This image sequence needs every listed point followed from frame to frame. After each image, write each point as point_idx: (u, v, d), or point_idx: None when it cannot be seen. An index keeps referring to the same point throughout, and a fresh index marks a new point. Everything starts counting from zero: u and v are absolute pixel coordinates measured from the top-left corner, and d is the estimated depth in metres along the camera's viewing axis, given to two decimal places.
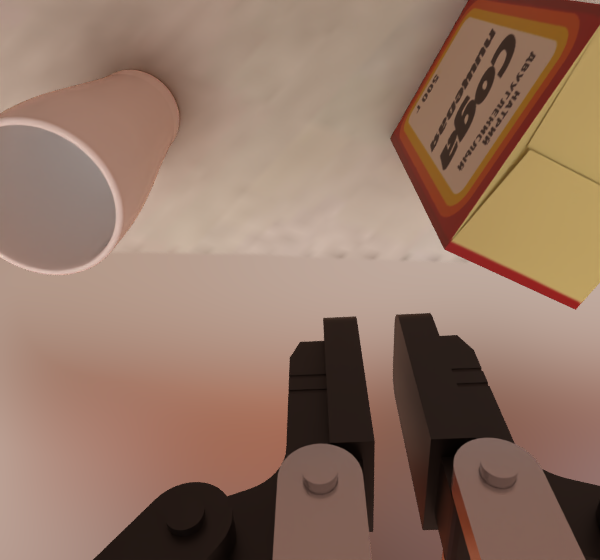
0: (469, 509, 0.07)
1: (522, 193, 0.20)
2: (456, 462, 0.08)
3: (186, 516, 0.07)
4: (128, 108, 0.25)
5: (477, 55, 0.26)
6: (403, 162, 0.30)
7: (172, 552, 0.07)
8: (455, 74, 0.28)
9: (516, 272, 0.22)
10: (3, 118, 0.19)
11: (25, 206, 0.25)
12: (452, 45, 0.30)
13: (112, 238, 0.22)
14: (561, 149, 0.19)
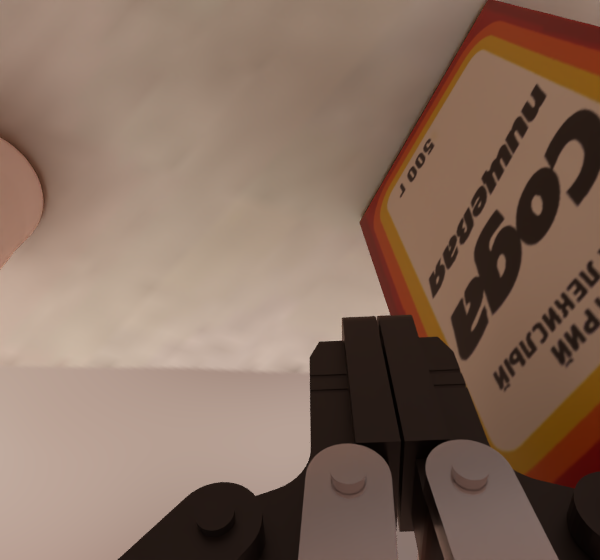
0: (438, 511, 0.07)
1: None
2: (428, 464, 0.08)
3: (216, 517, 0.07)
4: None
5: (509, 130, 0.15)
6: (382, 284, 0.19)
7: (203, 553, 0.07)
8: (466, 151, 0.16)
9: None
10: None
11: None
12: (454, 94, 0.19)
13: None
14: None
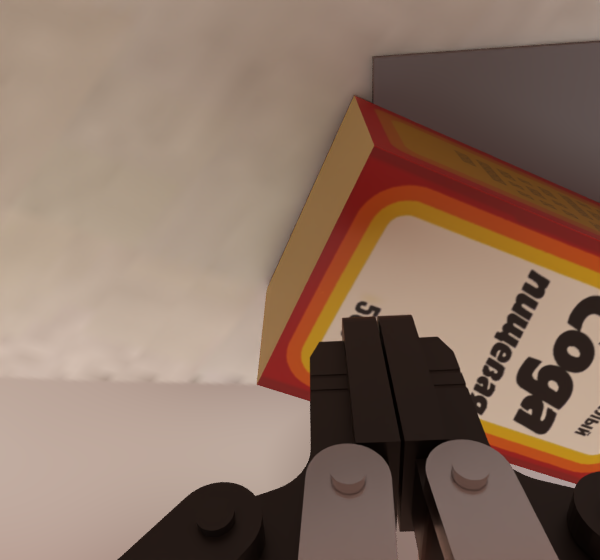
0: (438, 511, 0.07)
1: None
2: (428, 464, 0.08)
3: (215, 517, 0.07)
4: None
5: (513, 302, 0.18)
6: None
7: (203, 553, 0.07)
8: (452, 316, 0.18)
9: None
10: None
11: None
12: (383, 258, 0.17)
13: None
14: None
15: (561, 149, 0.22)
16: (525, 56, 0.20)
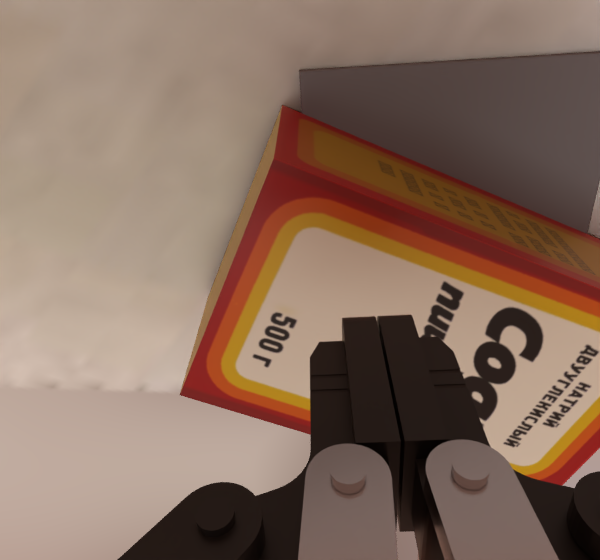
0: (438, 511, 0.07)
1: None
2: (428, 464, 0.08)
3: (216, 517, 0.07)
4: None
5: (429, 314, 0.17)
6: None
7: (203, 553, 0.07)
8: None
9: None
10: None
11: None
12: (293, 270, 0.17)
13: None
14: None
15: (492, 163, 0.22)
16: (450, 70, 0.20)
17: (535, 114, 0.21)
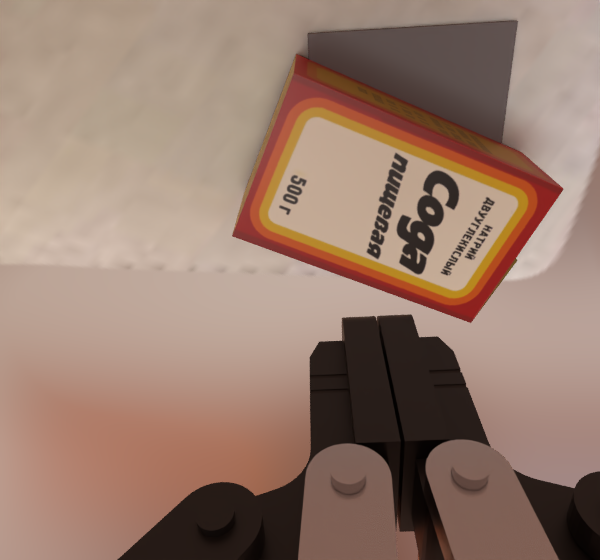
0: (438, 511, 0.07)
1: None
2: (428, 464, 0.08)
3: (215, 517, 0.07)
4: None
5: (387, 175, 0.29)
6: (315, 264, 0.31)
7: (203, 553, 0.07)
8: (351, 185, 0.29)
9: None
10: None
11: None
12: (305, 145, 0.28)
13: None
14: None
15: (434, 96, 0.33)
16: (404, 33, 0.31)
17: (460, 62, 0.32)
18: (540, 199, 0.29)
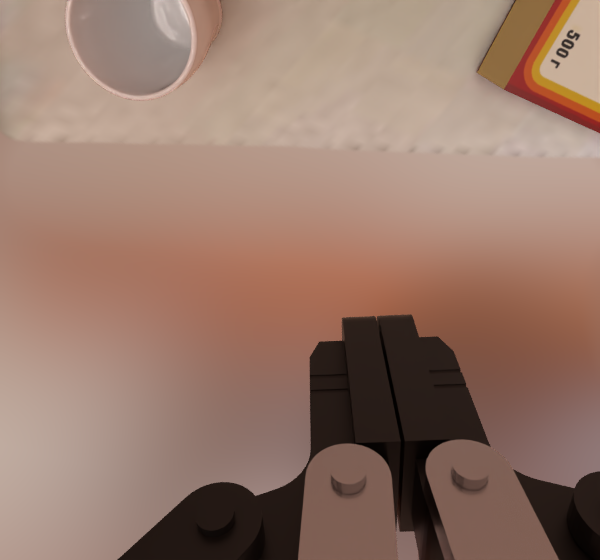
0: (438, 511, 0.07)
1: None
2: (428, 464, 0.08)
3: (215, 517, 0.07)
4: None
5: None
6: (568, 117, 0.37)
7: (203, 553, 0.07)
8: None
9: None
10: None
11: (109, 58, 0.31)
12: (586, 1, 0.33)
13: (187, 65, 0.28)
14: None
15: None
16: None
17: None
18: None
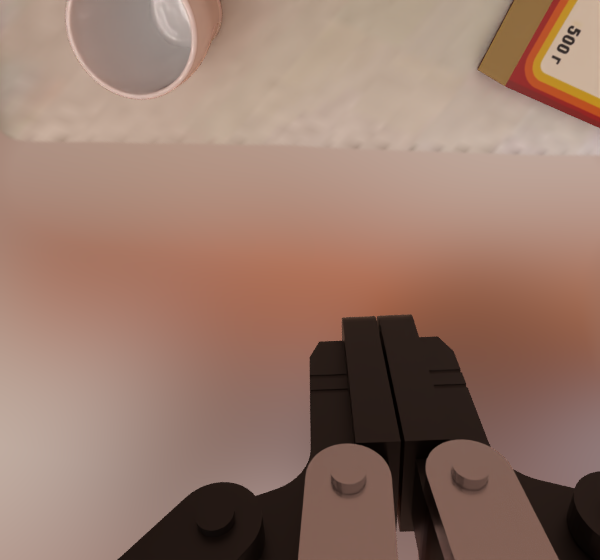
0: (438, 511, 0.07)
1: None
2: (428, 463, 0.08)
3: (216, 517, 0.07)
4: None
5: None
6: (570, 113, 0.37)
7: (203, 552, 0.07)
8: None
9: None
10: None
11: (109, 57, 0.31)
12: None
13: (187, 64, 0.28)
14: None
15: None
16: None
17: None
18: None
